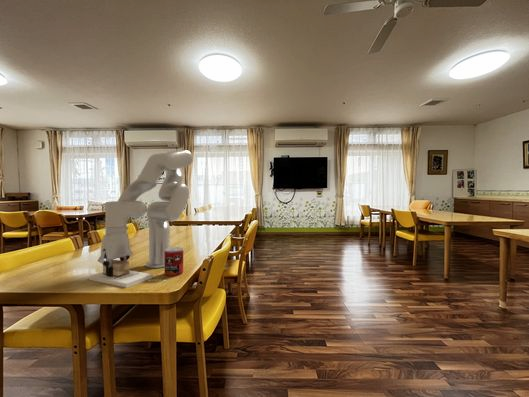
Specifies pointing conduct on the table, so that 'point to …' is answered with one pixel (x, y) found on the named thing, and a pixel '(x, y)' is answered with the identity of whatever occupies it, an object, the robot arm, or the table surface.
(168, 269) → the canned food
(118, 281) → the board
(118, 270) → the block
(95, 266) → the table surface
